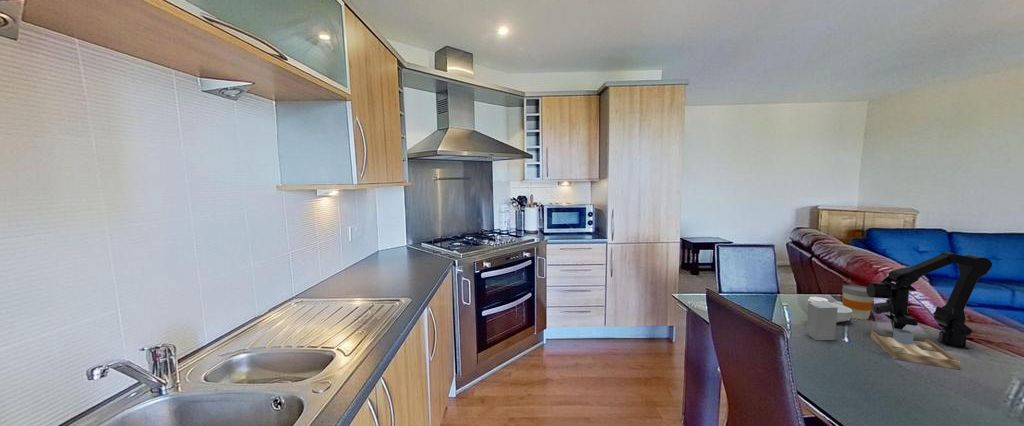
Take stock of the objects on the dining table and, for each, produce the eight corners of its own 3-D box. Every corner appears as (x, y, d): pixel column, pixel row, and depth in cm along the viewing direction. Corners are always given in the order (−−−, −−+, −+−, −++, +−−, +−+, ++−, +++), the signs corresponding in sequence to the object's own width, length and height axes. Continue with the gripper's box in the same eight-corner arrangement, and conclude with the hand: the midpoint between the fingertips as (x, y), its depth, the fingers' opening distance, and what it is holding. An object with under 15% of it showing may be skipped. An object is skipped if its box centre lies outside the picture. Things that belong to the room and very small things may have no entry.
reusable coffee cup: (869, 314, 187) (871, 286, 185) (877, 322, 176) (879, 293, 175) (837, 310, 193) (839, 283, 192) (843, 317, 183) (845, 289, 181)
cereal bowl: (860, 327, 171) (861, 313, 170) (820, 325, 174) (821, 311, 174) (836, 314, 187) (837, 301, 187) (800, 312, 191) (801, 299, 190)
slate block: (907, 340, 153) (908, 330, 153) (912, 344, 149) (913, 334, 149) (892, 338, 155) (893, 328, 155) (897, 342, 152) (898, 332, 151)
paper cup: (831, 330, 168) (833, 301, 167) (815, 330, 168) (817, 301, 167) (817, 323, 176) (819, 296, 175) (802, 323, 176) (803, 296, 175)
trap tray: (927, 345, 151) (928, 339, 151) (959, 369, 133) (960, 361, 132) (870, 337, 160) (871, 331, 160) (893, 358, 141) (893, 351, 141)
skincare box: (824, 334, 163) (826, 301, 162) (836, 341, 156) (839, 307, 155) (804, 334, 164) (806, 301, 163) (816, 341, 157) (818, 306, 156)
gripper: (865, 290, 169) (863, 322, 170) (883, 302, 152) (880, 337, 154) (898, 294, 163) (895, 326, 165) (920, 306, 147) (916, 343, 148)
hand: (895, 333), depth 158 cm, fingers closed
